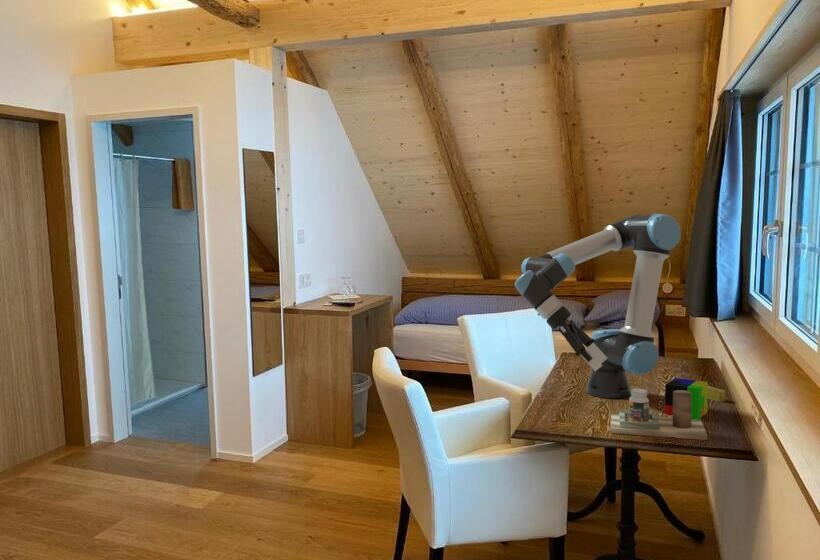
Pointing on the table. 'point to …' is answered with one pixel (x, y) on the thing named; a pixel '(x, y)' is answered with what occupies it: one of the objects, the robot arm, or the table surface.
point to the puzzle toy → (698, 396)
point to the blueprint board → (664, 422)
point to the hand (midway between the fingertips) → (601, 364)
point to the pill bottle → (638, 406)
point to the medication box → (716, 394)
